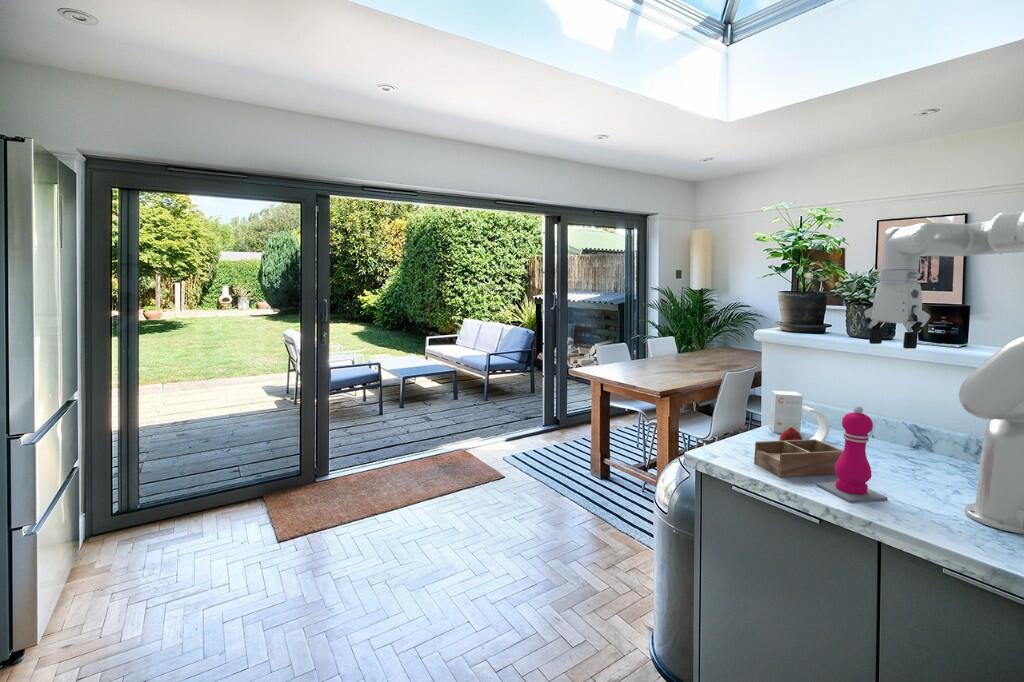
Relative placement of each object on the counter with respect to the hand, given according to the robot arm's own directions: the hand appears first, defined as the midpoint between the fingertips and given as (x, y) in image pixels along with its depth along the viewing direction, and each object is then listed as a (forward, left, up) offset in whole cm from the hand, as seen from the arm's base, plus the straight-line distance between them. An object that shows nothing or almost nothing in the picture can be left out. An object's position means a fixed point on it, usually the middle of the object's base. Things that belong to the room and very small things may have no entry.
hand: (891, 345), depth 131 cm
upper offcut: (+6, +24, -32) cm, 40 cm away
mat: (-10, +18, -33) cm, 39 cm away
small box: (+38, -2, -34) cm, 51 cm away
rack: (+6, +19, -33) cm, 39 cm away
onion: (+18, +12, -34) cm, 40 cm away
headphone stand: (+22, +1, -34) cm, 40 cm away
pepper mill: (-10, +18, -33) cm, 39 cm away
